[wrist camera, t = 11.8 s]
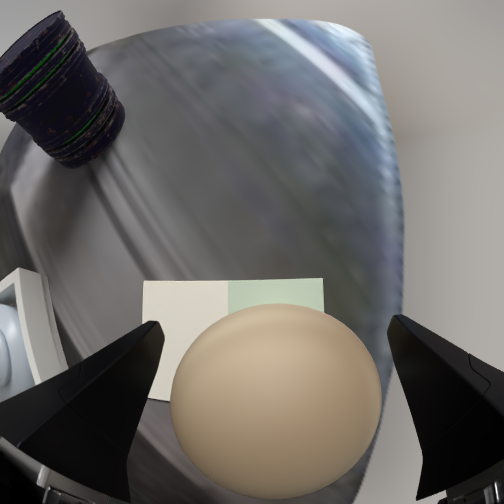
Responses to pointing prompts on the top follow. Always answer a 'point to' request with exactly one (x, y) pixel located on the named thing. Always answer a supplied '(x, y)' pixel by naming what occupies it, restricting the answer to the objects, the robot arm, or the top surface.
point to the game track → (211, 312)
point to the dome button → (12, 355)
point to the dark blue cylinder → (59, 93)
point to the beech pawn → (275, 401)
